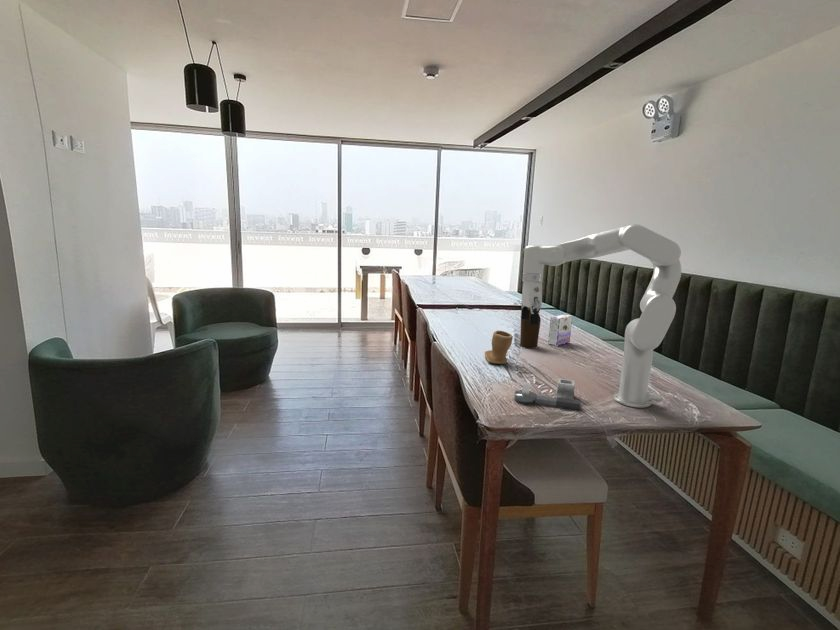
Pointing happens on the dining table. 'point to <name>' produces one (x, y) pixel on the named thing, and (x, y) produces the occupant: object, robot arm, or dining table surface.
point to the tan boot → (499, 347)
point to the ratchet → (544, 399)
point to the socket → (565, 388)
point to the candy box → (560, 329)
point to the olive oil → (529, 333)
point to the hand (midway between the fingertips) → (529, 321)
